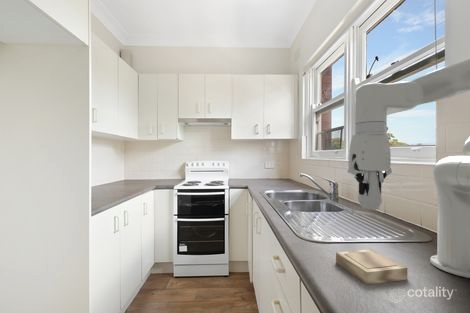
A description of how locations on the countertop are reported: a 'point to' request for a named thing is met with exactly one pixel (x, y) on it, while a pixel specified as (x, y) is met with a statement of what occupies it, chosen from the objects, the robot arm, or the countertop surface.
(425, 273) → the countertop surface
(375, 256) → the base board
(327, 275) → the countertop surface
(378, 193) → the salt shaker
